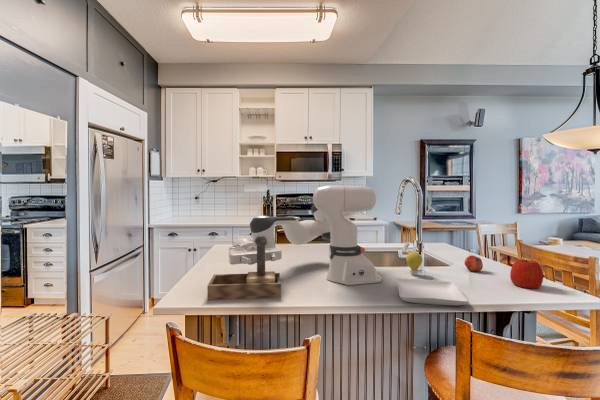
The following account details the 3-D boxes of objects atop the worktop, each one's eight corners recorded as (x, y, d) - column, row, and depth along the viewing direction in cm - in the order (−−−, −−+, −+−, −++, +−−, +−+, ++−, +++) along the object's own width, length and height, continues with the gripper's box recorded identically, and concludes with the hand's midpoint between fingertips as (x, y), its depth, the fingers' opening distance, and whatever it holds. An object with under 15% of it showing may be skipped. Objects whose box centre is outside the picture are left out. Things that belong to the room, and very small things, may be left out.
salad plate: (469, 311, 106) (469, 300, 105) (399, 305, 110) (399, 295, 110) (452, 289, 126) (453, 281, 126) (394, 286, 131) (395, 277, 130)
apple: (541, 284, 132) (542, 257, 132) (544, 292, 123) (546, 263, 122) (509, 280, 138) (510, 254, 137) (510, 287, 128) (511, 260, 128)
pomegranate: (461, 274, 155) (469, 265, 147) (460, 259, 159) (467, 250, 151) (478, 276, 154) (487, 268, 146) (477, 262, 158) (485, 253, 150)
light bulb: (406, 276, 143) (406, 253, 143) (405, 272, 150) (405, 250, 149) (422, 277, 142) (423, 254, 141) (421, 273, 148) (421, 251, 148)
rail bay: (279, 285, 130) (279, 272, 130) (280, 297, 116) (280, 283, 116) (214, 287, 128) (214, 274, 127) (207, 300, 114) (207, 285, 113)
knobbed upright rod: (274, 284, 127) (274, 233, 126) (275, 292, 118) (275, 236, 117) (248, 285, 126) (247, 233, 125) (246, 292, 117) (246, 237, 116)
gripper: (274, 258, 138) (288, 265, 126) (225, 263, 129) (234, 271, 117) (274, 243, 138) (288, 249, 125) (225, 247, 129) (234, 254, 116)
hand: (261, 260), depth 121 cm, fingers open, 8 cm apart
